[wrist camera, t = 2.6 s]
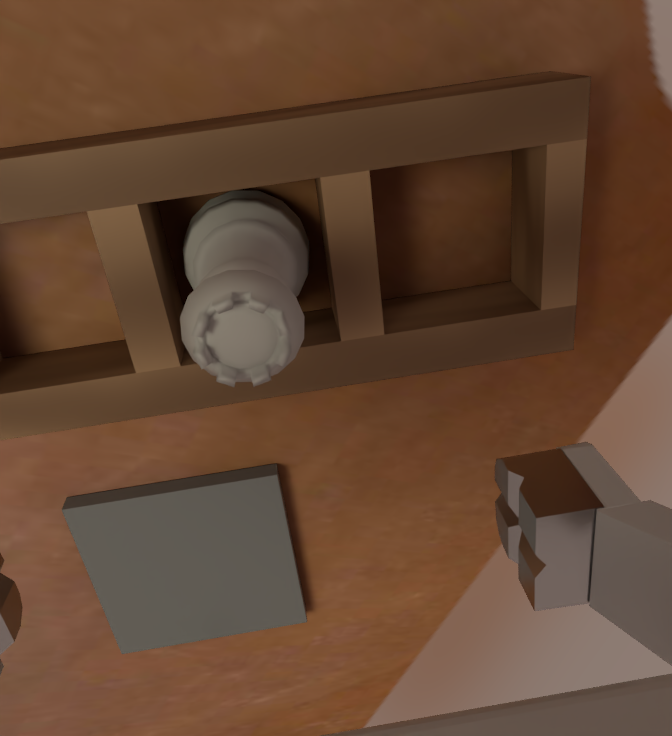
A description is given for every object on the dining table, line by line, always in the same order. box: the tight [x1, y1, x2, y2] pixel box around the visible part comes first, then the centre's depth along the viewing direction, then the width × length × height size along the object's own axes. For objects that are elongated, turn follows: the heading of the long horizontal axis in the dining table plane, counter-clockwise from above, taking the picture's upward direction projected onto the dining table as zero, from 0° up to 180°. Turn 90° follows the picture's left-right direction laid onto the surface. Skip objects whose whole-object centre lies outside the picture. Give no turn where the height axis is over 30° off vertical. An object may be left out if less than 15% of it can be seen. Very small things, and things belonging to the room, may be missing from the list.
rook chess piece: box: [180, 190, 309, 387], centre depth 19 cm, size 4×4×8 cm
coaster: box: [62, 464, 307, 654], centre depth 29 cm, size 9×9×1 cm
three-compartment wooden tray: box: [0, 71, 591, 440], centre depth 22 cm, size 9×22×3 cm, turn 97°
